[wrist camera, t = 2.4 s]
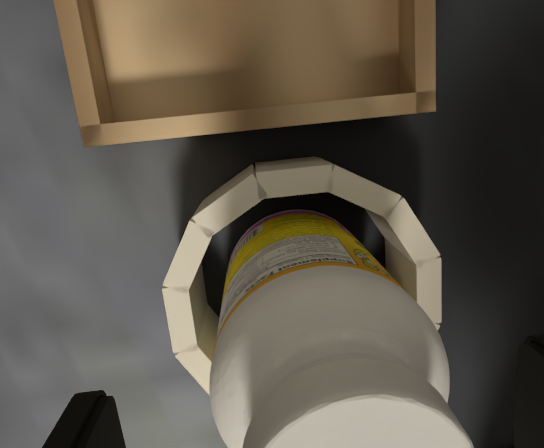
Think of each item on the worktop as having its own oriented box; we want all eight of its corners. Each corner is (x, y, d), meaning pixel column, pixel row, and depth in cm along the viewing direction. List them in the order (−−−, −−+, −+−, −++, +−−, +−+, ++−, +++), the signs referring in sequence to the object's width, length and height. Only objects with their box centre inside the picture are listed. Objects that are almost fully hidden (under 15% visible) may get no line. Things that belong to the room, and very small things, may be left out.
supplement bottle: (368, 321, 21) (534, 604, 9) (240, 342, 21) (224, 657, 9) (354, 194, 20) (534, 317, 7) (216, 216, 20) (154, 380, 7)
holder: (402, 147, 19) (441, 153, 15) (407, 357, 22) (441, 408, 18) (165, 171, 19) (143, 184, 15) (199, 381, 22) (188, 438, 18)
